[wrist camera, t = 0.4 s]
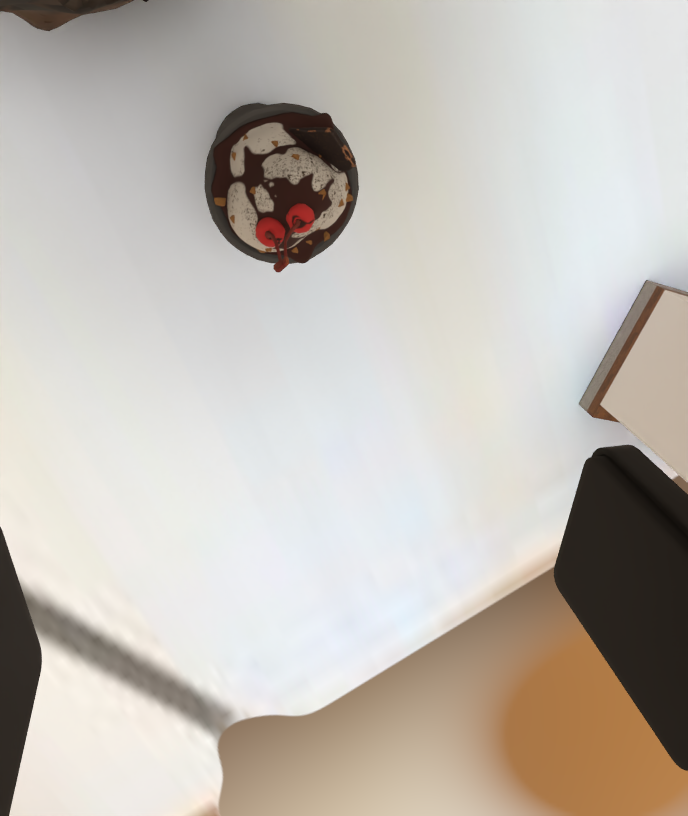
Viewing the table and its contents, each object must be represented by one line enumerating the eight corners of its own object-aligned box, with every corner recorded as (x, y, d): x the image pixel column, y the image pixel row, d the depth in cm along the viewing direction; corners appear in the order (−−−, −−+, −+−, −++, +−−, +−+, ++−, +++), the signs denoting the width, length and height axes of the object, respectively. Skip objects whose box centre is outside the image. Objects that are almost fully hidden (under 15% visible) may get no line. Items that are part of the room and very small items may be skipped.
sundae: (216, 223, 37) (235, 321, 24) (184, 98, 33) (186, 137, 20) (325, 200, 37) (397, 284, 25) (305, 76, 34) (378, 100, 21)
